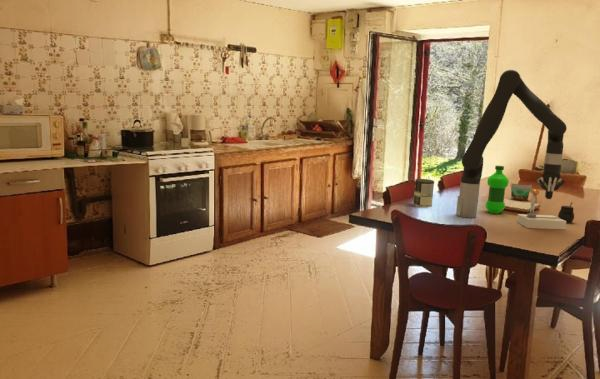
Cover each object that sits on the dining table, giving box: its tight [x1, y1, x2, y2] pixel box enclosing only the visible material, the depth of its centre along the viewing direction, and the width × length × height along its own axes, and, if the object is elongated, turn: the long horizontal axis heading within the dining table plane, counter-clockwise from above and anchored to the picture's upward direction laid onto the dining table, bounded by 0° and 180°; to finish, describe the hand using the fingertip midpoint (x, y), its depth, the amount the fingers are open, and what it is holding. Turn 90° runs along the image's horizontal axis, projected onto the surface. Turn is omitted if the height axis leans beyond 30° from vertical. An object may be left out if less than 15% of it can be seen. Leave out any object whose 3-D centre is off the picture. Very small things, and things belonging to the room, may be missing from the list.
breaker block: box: [516, 213, 567, 230], centre depth 250 cm, size 18×12×4 cm, turn 91°
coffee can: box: [412, 178, 435, 208], centre depth 286 cm, size 10×10×14 cm
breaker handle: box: [526, 188, 540, 217], centre depth 249 cm, size 3×4×13 cm
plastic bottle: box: [485, 165, 510, 215], centre depth 275 cm, size 10×10×25 cm
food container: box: [510, 182, 533, 202], centre depth 315 cm, size 12×6×10 cm, turn 76°
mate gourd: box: [557, 201, 575, 224], centre depth 261 cm, size 7×8×10 cm
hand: (548, 198), depth 248 cm, fingers closed
